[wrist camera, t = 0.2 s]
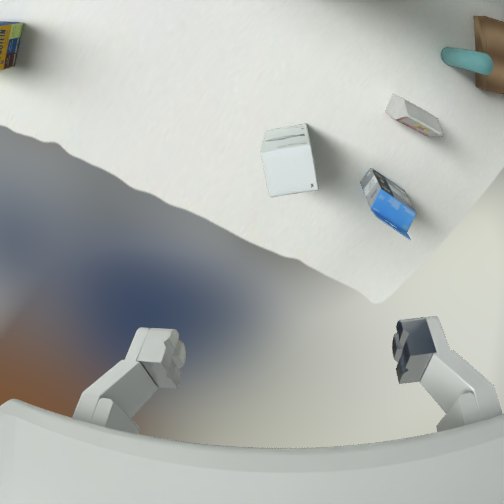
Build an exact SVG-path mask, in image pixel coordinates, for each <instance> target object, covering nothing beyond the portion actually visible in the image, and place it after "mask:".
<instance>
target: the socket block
mask: <svg viewBox="0 0 504 504" xmlns="http://www.w3.org/2000/svg"><path fill="white" fill-rule="evenodd" d="M474 27H475V44H476V52H481V53H486V54H488V55H489V56H490V57H491V59H492V61H493V70H492V72H491V73H490V74H489V75H483V74H480V73H477V72H476V87H478V88H481V89H484V90H486V91H491V92H496V93H501V94H504V22H502V21H499V20H496V19H492V18H489V17H486V16H474Z"/></svg>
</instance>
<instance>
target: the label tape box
mask: <svg viewBox="0 0 504 504" xmlns="http://www.w3.org/2000/svg"><path fill="white" fill-rule="evenodd" d="M360 183H361V186H362V188H363V191H364V193H365V196H366V198H367V201H368V203H369V206H370V209H371V211H372V212H373V213H374V215H375V216H376V217H377V218H378V219H379V220H381V221H382V222H384V223H385V224H387V225H388V226H390V227H391V228H393V229H394V230H396V231H397V232H399V233H400V234H402V235H403V236H405V237H406V238H408V239H409V240H411V239H410V237H409V236H408V234H407V232H408V229H409V227H410V225H411V223H412V221H413V219H414V217H415V215H416V211H415V209H414V208H413V206H412V204H411V202H410V201H409V199H408V197H407V195H406V193H405V191H404V190H403V189H401V188H400V187H398V186H397V185H396V184H394V183H393V182H391V181H390V180H388V179H387V178H385V177H384V176H382V175H381V174H379V173H378V172H376V171H375V170H373V169H372V168H370V170H369V171H368V172H367V174H366V175H365V176H364V178H363V179H362V180H361V182H360ZM385 220H386V221H385ZM388 222H389V223H388ZM391 224H392V225H393V226H392V225H391ZM394 226H395V227H396V228H395V227H394Z"/></svg>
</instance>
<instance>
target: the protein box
mask: <svg viewBox="0 0 504 504" xmlns="http://www.w3.org/2000/svg"><path fill="white" fill-rule="evenodd" d="M23 24H24V23H20V22H0V70H3V69H6V68H9V67H13V66H15V60H16V55H17V50H18V45H19V41H20V36H21V32H22V28H23Z"/></svg>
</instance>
